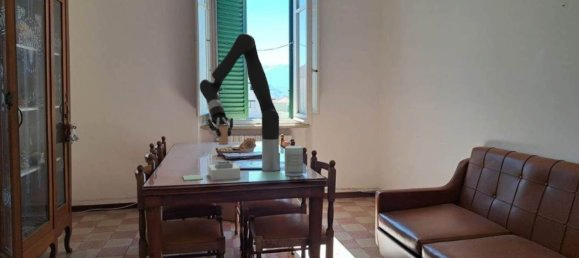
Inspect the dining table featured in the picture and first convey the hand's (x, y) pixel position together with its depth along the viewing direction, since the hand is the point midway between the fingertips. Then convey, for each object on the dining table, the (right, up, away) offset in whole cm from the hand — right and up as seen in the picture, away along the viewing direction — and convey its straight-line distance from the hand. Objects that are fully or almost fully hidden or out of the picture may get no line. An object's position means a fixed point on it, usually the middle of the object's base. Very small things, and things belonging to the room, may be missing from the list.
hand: (224, 135), depth 212 cm
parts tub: (-1, -21, +4) cm, 21 cm away
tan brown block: (-1, -4, +2) cm, 5 cm away
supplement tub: (+35, -21, +8) cm, 41 cm away
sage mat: (-16, -21, -1) cm, 26 cm away
